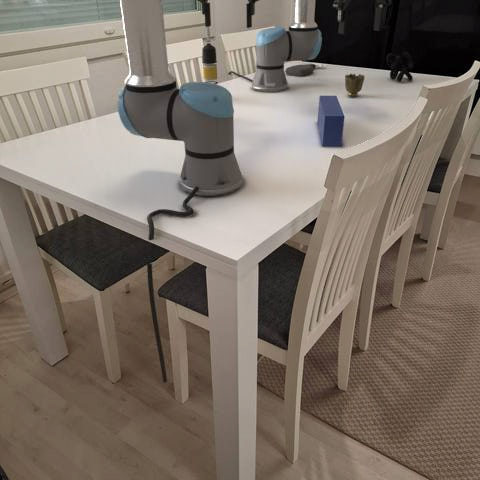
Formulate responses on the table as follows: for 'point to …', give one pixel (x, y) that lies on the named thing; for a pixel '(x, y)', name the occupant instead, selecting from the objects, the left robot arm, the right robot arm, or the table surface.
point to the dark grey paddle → (302, 69)
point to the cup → (353, 84)
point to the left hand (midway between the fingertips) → (228, 27)
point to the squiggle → (399, 66)
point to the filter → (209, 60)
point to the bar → (330, 121)
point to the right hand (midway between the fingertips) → (359, 32)
